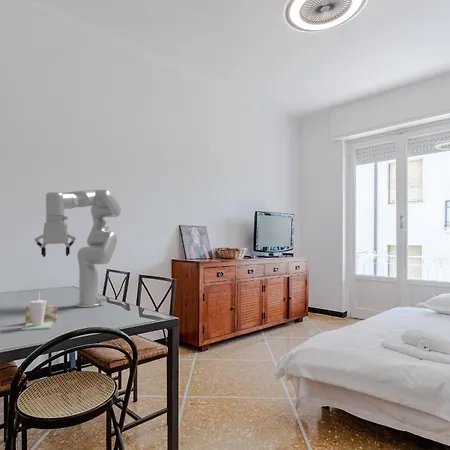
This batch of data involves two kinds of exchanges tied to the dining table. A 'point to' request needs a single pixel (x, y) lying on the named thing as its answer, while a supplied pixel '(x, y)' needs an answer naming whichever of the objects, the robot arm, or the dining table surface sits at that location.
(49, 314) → the screen
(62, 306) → the dining table surface
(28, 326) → the mat
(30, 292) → the dining table surface
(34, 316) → the smoothie
